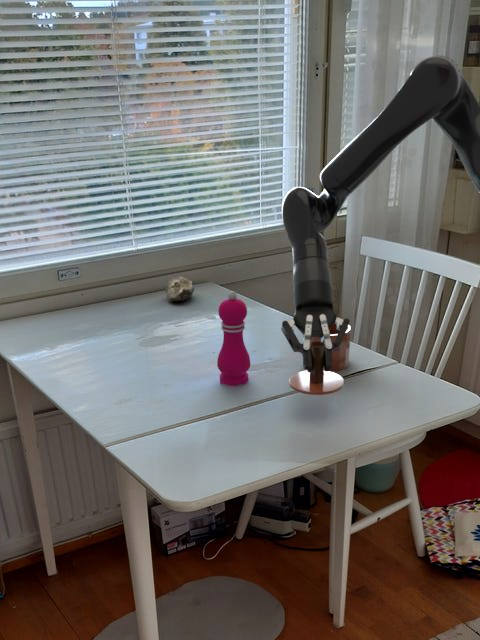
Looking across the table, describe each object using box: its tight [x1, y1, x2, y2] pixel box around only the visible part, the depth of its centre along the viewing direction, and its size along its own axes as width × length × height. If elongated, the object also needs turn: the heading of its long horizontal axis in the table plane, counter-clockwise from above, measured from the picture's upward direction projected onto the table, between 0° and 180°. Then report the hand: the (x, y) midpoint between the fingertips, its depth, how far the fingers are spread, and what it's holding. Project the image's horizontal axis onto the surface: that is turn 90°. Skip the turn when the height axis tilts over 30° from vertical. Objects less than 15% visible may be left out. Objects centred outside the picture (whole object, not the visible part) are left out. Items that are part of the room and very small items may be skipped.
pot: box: [309, 323, 352, 373], centre depth 178 cm, size 10×10×8 cm
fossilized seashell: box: [164, 276, 195, 302], centre depth 218 cm, size 8×7×10 cm
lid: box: [288, 342, 345, 396], centre depth 152 cm, size 11×11×9 cm
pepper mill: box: [216, 290, 251, 387], centre depth 167 cm, size 7×7×20 cm
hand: (318, 370), depth 151 cm, fingers closed on lid, 3 cm apart
